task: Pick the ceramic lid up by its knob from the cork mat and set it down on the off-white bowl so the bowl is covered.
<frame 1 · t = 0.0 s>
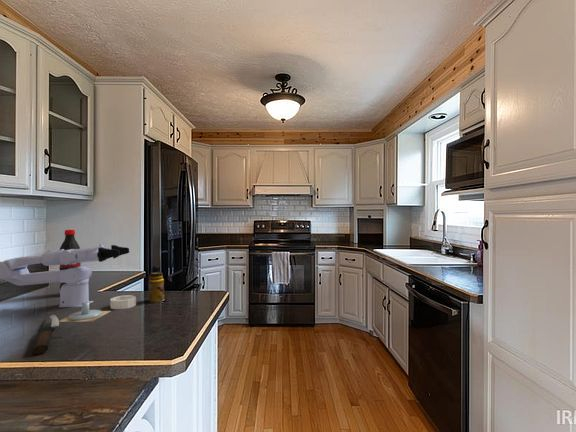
hand: (124, 251, 135), 22 cm above the worktop, tool horizontal, fingers open, 7 cm apart
cola bottle: (70, 294, 155), on the worktop
bowl: (123, 306, 132), on the worktop
condiment: (154, 302, 140), on the worktop
kitchen knife: (49, 333, 103), on the worktop, touching mat
lid: (85, 316, 119), resting on mat
mat: (85, 317, 119), on the worktop
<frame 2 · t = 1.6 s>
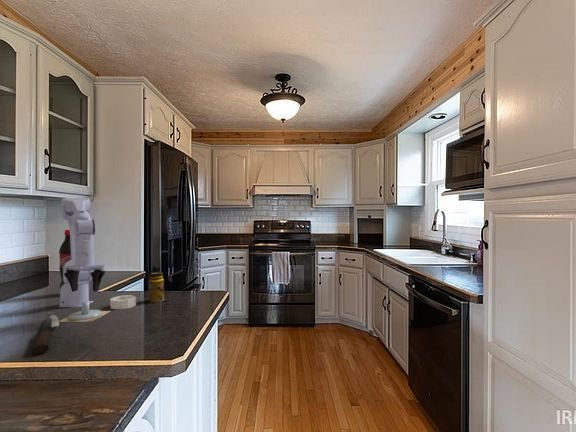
hand: (85, 290, 119), 9 cm above the worktop, tool pointing down, fingers open, 7 cm apart
nothing on the worktop moved.
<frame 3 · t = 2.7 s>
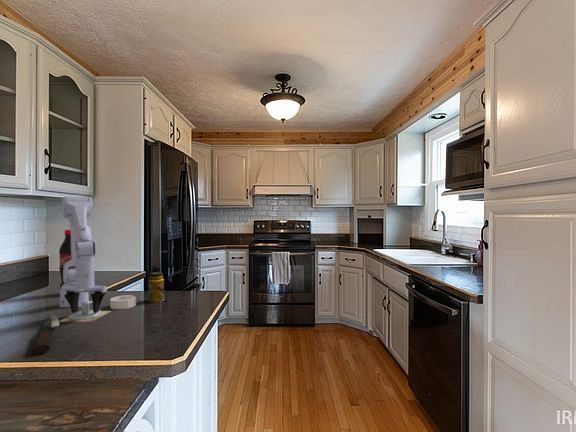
hand: (85, 312, 119), 2 cm above the worktop, tool pointing down, fingers open, 7 cm apart
nothing on the worktop moved.
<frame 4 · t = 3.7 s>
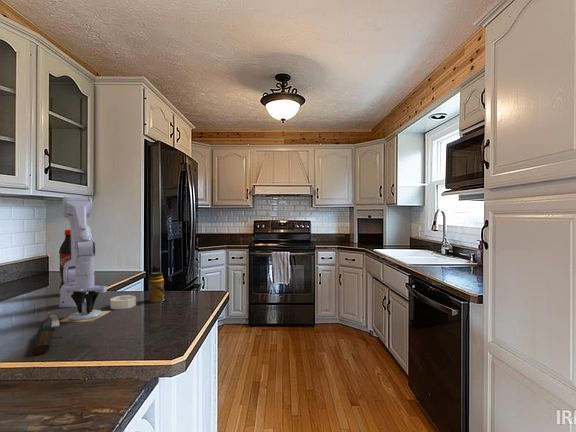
hand: (85, 312, 119), 2 cm above the worktop, tool pointing down, fingers closed on lid, 2 cm apart
lid: (85, 316, 119), resting on mat, touching gripper
everything else where it was.
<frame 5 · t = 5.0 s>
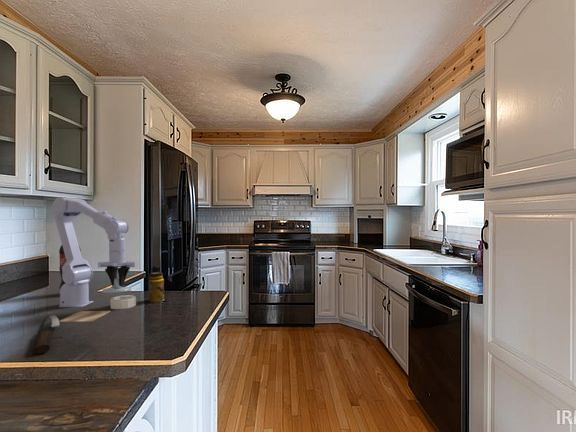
hand: (117, 285, 130), 9 cm above the worktop, tool pointing down, fingers closed on lid, 2 cm apart
lid: (117, 290, 130), point 7 cm above the worktop, touching gripper
everything else where it was.
when the fingers open (6 cm above the worktop, at t = 6.3 s): lid stays where it is, resting on bowl.
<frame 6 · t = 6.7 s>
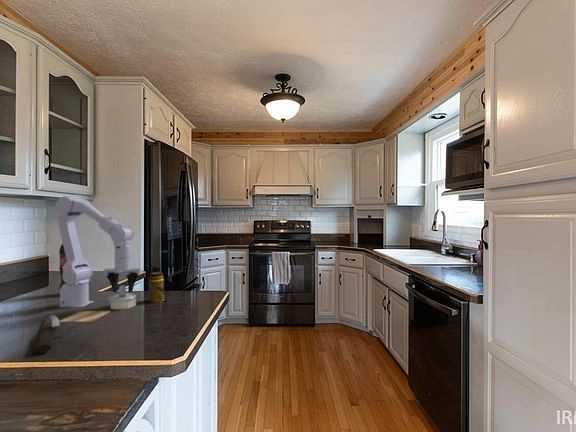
hand: (123, 291, 132), 6 cm above the worktop, tool pointing down, fingers open, 5 cm apart
lid: (122, 298, 132), point 3 cm above the worktop, touching bowl
everything else where it was.
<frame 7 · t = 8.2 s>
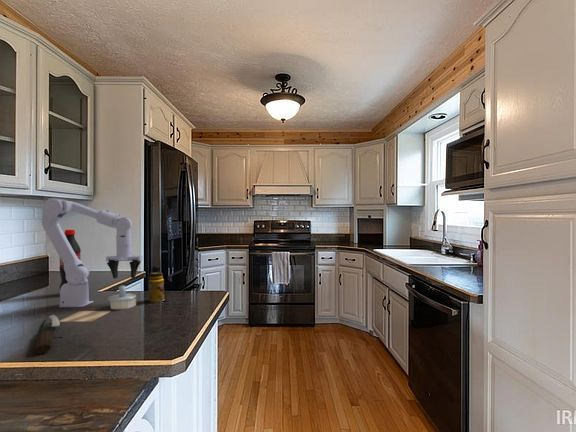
hand: (124, 278, 141), 10 cm above the worktop, tool pointing down, fingers open, 7 cm apart
nothing on the worktop moved.
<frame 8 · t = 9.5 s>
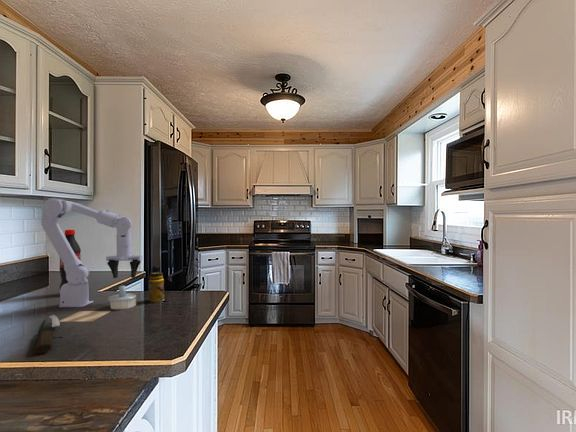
hand: (124, 277, 141), 10 cm above the worktop, tool pointing down, fingers open, 7 cm apart
nothing on the worktop moved.
at the end: lid 0.7 cm off-centre on the bowl, point 3.5 cm above the bowl's base; lid tilted 0°; the gripper is holding nothing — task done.
